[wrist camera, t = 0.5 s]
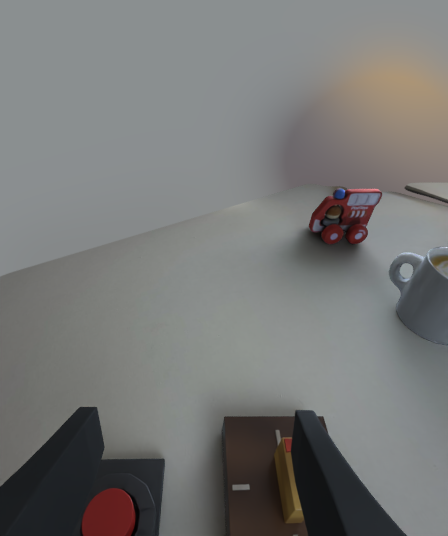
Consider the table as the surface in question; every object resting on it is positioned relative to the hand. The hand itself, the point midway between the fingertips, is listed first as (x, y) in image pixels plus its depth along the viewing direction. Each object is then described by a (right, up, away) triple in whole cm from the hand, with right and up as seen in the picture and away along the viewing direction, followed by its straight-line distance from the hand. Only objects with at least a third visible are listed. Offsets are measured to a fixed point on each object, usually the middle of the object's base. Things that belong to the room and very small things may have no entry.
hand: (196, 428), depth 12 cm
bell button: (-8, -14, +13) cm, 20 cm away
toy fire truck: (+24, +12, +54) cm, 60 cm away
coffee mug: (+32, -1, +38) cm, 50 cm away
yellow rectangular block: (+6, -13, +15) cm, 21 cm away
